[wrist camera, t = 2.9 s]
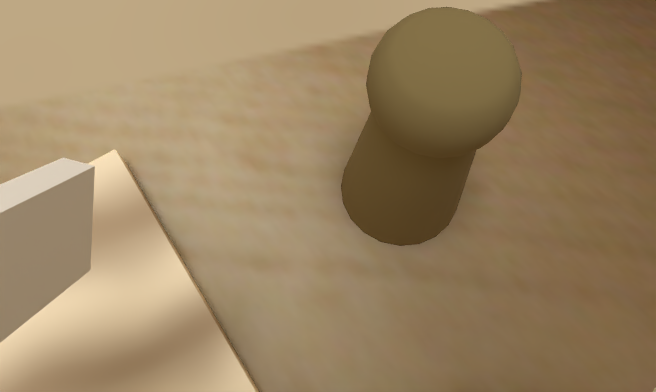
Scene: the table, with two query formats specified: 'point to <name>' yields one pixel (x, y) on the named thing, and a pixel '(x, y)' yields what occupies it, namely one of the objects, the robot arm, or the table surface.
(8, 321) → the robot arm
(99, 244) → the birch board
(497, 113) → the olive pawn
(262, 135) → the table surface
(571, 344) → the table surface
